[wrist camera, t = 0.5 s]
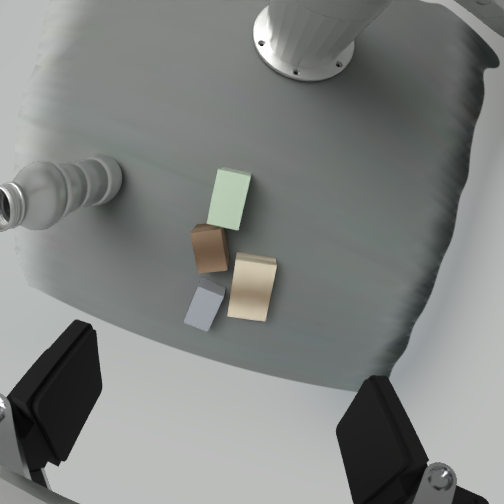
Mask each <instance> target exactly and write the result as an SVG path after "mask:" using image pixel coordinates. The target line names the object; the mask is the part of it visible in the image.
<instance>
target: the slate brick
mask: <svg viewBox="0 0 504 504" xmlns="http://www.w3.org/2000/svg"><path fill="white" fill-rule="evenodd" d="M225 289H226V287H224V286H221V285H219V284H217V283H214V282H212V281H209V280H207V279H205V278H201V280H200V283H199V285H198V287H197V290H196V292H195V295H194V297H193V300H192V302H191V305H190V307H189V309H188V312H187V315H186V317H185V320H184V323H187V324H189V325H191V326H194V327H196V328H199V329H201V330H204V331H207V332H208V330H209V328H210V326H211V324H212V321H213V319H214V317H215V315H216V313H217V311H218V309H219V306H220V304H221V302H222V300H223V298H224V294H225Z"/></svg>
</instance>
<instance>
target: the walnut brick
mask: <svg viewBox="0 0 504 504" xmlns="http://www.w3.org/2000/svg"><path fill="white" fill-rule="evenodd" d="M191 239H192V244H193V249H194V255H195V260H196V265H197V270H198V273H207V272H217V271H226V270H227V269H228V264H229V260H230V257H229V251H228V244H227V238H226V231H225V228H224V227H220V226H215V225H211V224H207V223H205V224H198V225H196V226H195V228H194V229H193V230H192V232H191Z"/></svg>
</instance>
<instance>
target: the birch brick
mask: <svg viewBox="0 0 504 504" xmlns="http://www.w3.org/2000/svg"><path fill="white" fill-rule="evenodd" d="M276 268H277V264H276V259H275V258H271V257H264V256H258V255H251V254H245V253H238V252H237V255H236V262H235V268H234V275H233V282H232V288H231V295H230V302H229V309H228V316H229V317H236V318H243V319H250V320H258V321H265V320H266V315H267V311H268V306H269V302H270V297H271V292H272V287H273V283H274V278H275V273H276Z"/></svg>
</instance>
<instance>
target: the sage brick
mask: <svg viewBox="0 0 504 504" xmlns="http://www.w3.org/2000/svg"><path fill="white" fill-rule="evenodd" d="M250 178H251V173H248V172H244V171H239V170H235V169H230V168H225V167H222V168H220V169H218V172H217V176H216V181H215V186H214V190H213V195H212V200H211V205H210V210H209V215H208V220H207V224H211V225H215V226H220V227H224V228H229V229H233V230H239V226H240V221H241V217H242V212H243V208H244V204H245V200H246V195H247V191H248V187H249V182H250Z"/></svg>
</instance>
